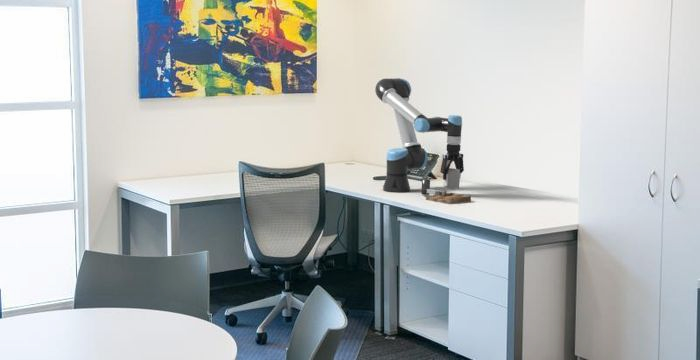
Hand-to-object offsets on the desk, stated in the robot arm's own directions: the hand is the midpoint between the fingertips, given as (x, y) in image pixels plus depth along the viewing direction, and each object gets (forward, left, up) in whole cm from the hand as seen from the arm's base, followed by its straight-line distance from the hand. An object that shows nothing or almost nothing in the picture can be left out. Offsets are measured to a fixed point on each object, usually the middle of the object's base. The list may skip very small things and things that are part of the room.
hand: (451, 185), depth 490 cm
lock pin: (+1, -15, -4) cm, 16 cm away
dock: (+14, -16, -5) cm, 22 cm away
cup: (0, 0, -2) cm, 2 cm away
